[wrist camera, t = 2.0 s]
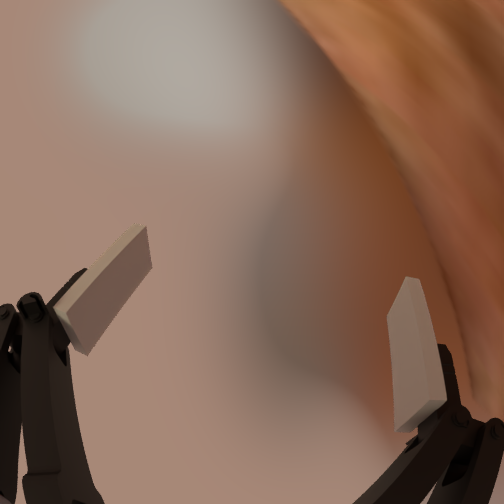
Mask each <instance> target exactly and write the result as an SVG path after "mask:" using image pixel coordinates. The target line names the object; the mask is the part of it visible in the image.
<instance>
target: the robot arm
mask: <svg viewBox="0 0 504 504" xmlns="http://www.w3.org/2000/svg"><path fill="white" fill-rule="evenodd" d="M151 269H152V263H151V257H150V250H149V244H148V236H147V229H146V226H145V225H140V224H133V225H132V226H131V227H130V228H129V229H128V230H127V231H126V232H125V233H124V234H123V235H121V237H119V238H118V239H117V240H116V241H115V242H114V243H113V244H112V245H111V246H110V247H109V248H108V249H107V250H106V251H105V252H104V253H103V254H102V255H101V256H100V257H99V258H98V259H97V260H96V261H95V262H94V263H93V264H92V265H91V266H90V267H89V269H86V268H84V269H82V270H80V271H79V272H77V273H75V274H74V275H73V276H72V278H71V279H70V280H69V282H67V283H66V284H65V285H64V287H62V288H61V289H60V290H59V291H58V293H57V294H56V295H55V296H54V297H53V298H52V299H51V300H50V301H49V302H48V303H47V305H45V303H44V301H43V299H42V297H41V295H40V294H39V293H36V292H31V293H28V294H25V295H24V296H23V297H21V298H20V300H19V301H18V303H17V308H18V310H19V312H16V310H15V308H14V306H13V305H12V304H3V305H1V306H0V504H15V499H16V493H17V479H18V456H19V444H20V433H21V425H22V426H23V437H24V446H25V454H26V459H27V466H28V472H27V474H25V475H24V476H23V479H22V484H23V490H24V495H25V500H26V503H27V504H104V501H103V499H102V497H101V495H100V494H99V492H98V491H97V490H96V488H95V486H94V484H93V481H92V477H91V474H90V470H89V467H88V463H87V459H86V455H85V451H84V447H83V442H82V438H81V433H80V428H79V422H78V417H77V411H76V406H75V399H74V392H73V384H72V376H71V366H70V355H69V349H68V347H67V346H68V345H69V344H70V342H71V343H72V345H73V347H74V349H75V350H77V351H79V352H81V353H82V354H85V355H87V356H88V354H89V353H90V352H91V350H92V348H93V347H94V346H95V344H96V343H97V341H98V340H99V339H100V337H101V336H102V334H103V333H104V331H105V330H106V329H107V327H108V326H109V324H110V323H111V322H112V320H113V319H114V318H115V316H116V315H117V314H118V312H119V311H120V309H121V308H122V307H123V305H124V304H125V303H126V301H127V300H128V299H129V297H130V296H131V295H132V293H133V292H134V291H135V289H136V288H137V287H138V286H139V284H140V283H141V282H142V280H143V279H144V278H145V276H146V275H147V274H148V273H149V271H150V270H151ZM387 324H388V331H389V341H390V352H391V364H392V377H393V396H394V432H411V431H413V430H414V429H415V428H416V427H418V435H416V436H415V437H414V438H412V439H411V440H410V441H408V442H407V443H406V445H408V444H409V445H408V446H407V447H406V448H405V449H404V451H403V452H402V453H401V454H400V455H399V457H398V458H397V459H396V460H395V461H394V462H393V463H392V464H391V466H390V467H389V468H388V469H387V470H386V471H385V472H384V473H383V475H381V476H380V477H379V479H378V480H377V481H376V482H375V483H374V484H373V485H372V486H371V487H370V488H369V489H368V490H367V491H366V492H365V493H364V494H362V495H361V497H359V498H358V499H357V500H356V501H355V502H354V503H353V504H420V503H421V502H422V501H423V499H424V498H425V497H426V496H427V494H428V493H429V492H430V490H431V489H432V487H433V486H434V485H435V484H436V486H435V488H434V490H433V492H432V494H431V496H430V498H429V501H428V502H427V504H488V503H489V500H490V498H491V495H492V492H493V488H494V485H495V482H496V478H497V475H498V472H499V468H500V464H501V460H502V456H503V451H504V423H503V421H502V420H500V419H499V418H492V419H490V420H489V421H488V422H486V423H484V422H481V421H478V420H476V419H473V418H472V417H471V414H470V412H469V411H468V409H467V408H466V407H464V406H462V405H461V401H460V395H459V389H458V384H457V379H456V375H455V369H454V366H453V360H452V355H451V353H450V351H449V350H448V348H447V346H446V345H444V344H437V342H436V338H435V334H434V329H433V325H432V322H431V318H430V314H429V310H428V306H427V303H426V299H425V296H424V292H423V289H422V286H421V283H420V280H419V279H416V278H411V277H406V278H405V280H404V282H403V284H402V286H401V288H400V291H399V293H398V295H397V297H396V299H395V301H394V303H393V305H392V307H391V309H390V311H389V313H388V315H387ZM9 346H11V351H10V352H8V349H9ZM436 482H437V483H436Z"/></svg>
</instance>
